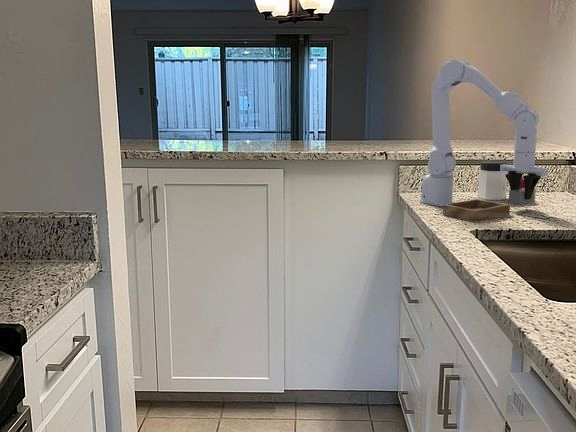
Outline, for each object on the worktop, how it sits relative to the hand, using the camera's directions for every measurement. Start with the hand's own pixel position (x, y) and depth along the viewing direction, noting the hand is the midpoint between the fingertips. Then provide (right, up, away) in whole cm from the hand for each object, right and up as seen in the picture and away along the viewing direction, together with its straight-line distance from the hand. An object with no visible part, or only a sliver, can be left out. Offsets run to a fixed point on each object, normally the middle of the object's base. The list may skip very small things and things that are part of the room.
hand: (521, 198), depth 171 cm
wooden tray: (-15, -5, -4) cm, 16 cm away
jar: (-1, 0, +21) cm, 21 cm away
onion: (+5, -1, +15) cm, 15 cm away
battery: (0, -2, 0) cm, 2 cm away
